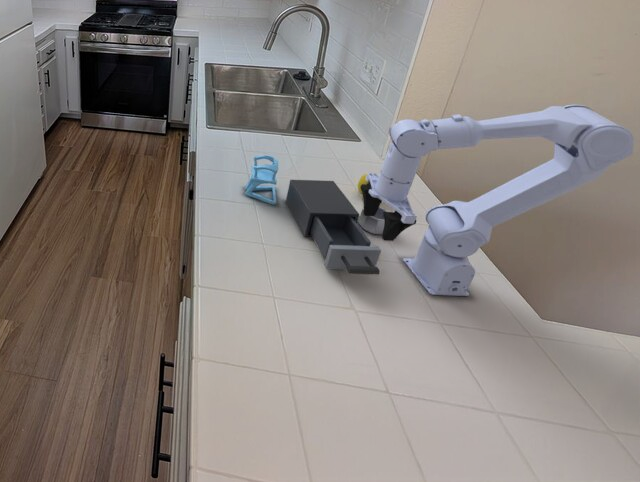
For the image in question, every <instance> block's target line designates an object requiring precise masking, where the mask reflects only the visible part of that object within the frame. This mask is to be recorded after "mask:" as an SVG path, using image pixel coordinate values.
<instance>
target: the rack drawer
mask: <svg viewBox="0 0 640 482" xmlns="http://www.w3.org/2000/svg"><path fill="white" fill-rule="evenodd" d="M309 232H310V233H311V235H312V237H313V238H312V240H313V241H314V243H315V244H316V246H317V248H318V249H319V251H320V253H321V255H322V256H323V259H324V260H325V261H324V264H323V265H324V267H325V269H326V270H346V273H347V274H349V275H374V276H375V275H376V276H378V275H380V268H379V267H378V266H377V263H378V261H379V257H380V255H381V252H382V250H381V248H380V247H379V246H376V245H375V246H372V241H371V240H370V239H369V238H368V236H367V235H366V233H365V232H364V231H363V229H362V227H361V226H360V225H359V223H358V222H357V223H356V222H355V220H354V219H353V217H346V216H314V215H313V218H312V222H311V226H310V230H309Z"/></svg>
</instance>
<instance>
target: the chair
mask: <svg viewBox="0 0 640 482" xmlns="http://www.w3.org/2000/svg"><path fill="white" fill-rule="evenodd" d="M259 160H268V161H269V162H271V164H270V163H269V164H268V163H266V164H261V165H258V161H259ZM250 168H251V170H250V171H251V176H250V178H249V180H248V182H247V183H246V185H245V188H244V190H245V193H244V195H245V196H248V197H251V198H254V199H256V200H259V201H261V202H264V203H267V204H270V205H273V206H276V205H277V196H276V195H277V194H276V187H275V185H277V183H278V182H277V173H278V171H279V160H278V159H277V158H275V157H273V156H271V155H267V154H262V155H258V156H253V165H251V167H250ZM263 184H270V185H263ZM253 191H272V199H270V198H267V197H265V196H262V195H260V194H257V193H255V192H253Z"/></svg>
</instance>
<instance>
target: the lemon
mask: <svg viewBox="0 0 640 482" xmlns="http://www.w3.org/2000/svg"><path fill="white" fill-rule="evenodd" d="M366 176H367V173H365V174H363V175H361V177H360V178H359V180H358V182H357V191H358V192H359V193H360V195H361V196H363V194H362V190H361V188H360V186H361V185H362V184H367V183H368V182H367V181H366V180H365V179H366Z"/></svg>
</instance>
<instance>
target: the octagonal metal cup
mask: <svg viewBox="0 0 640 482" xmlns="http://www.w3.org/2000/svg"><path fill="white" fill-rule="evenodd" d="M363 208H364V206H363V207H362V209H361V211H360V214H359V218H358V221H357V224H358V225H359V227H360V228H361V229H362V230H364V231H365V232H367V233H370V234H374V235H382V233H383V229H384V223H385V220H384V214H383V212H388V211H387V209H385V208H383V207H381V206H379V208H378V210H377V213H376V214H375V216H365V215H364V211H363Z"/></svg>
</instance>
